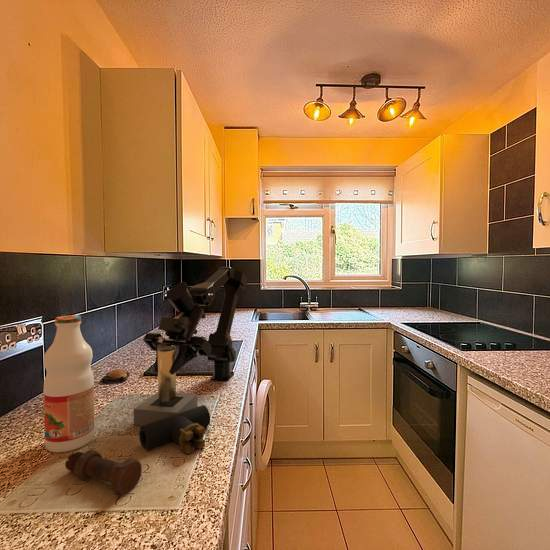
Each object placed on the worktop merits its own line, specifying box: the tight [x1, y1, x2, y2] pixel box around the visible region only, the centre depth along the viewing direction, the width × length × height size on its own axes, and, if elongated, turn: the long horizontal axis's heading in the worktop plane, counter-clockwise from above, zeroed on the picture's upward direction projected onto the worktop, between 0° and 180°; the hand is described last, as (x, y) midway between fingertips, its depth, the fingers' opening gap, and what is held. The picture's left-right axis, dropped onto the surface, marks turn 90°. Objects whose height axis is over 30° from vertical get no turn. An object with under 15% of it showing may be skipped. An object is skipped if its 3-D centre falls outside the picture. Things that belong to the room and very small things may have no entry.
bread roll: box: [100, 368, 130, 386], centre depth 111 cm, size 11×8×4 cm
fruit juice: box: [43, 314, 96, 453], centre depth 71 cm, size 9×9×28 cm
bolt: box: [65, 449, 143, 496], centre depth 59 cm, size 6×5×15 cm
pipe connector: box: [138, 404, 211, 455], centre depth 72 cm, size 12×5×15 cm
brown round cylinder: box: [157, 343, 177, 402], centre depth 83 cm, size 4×4×14 cm
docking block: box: [133, 391, 198, 427], centre depth 83 cm, size 11×11×4 cm
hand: (163, 372), depth 82 cm, fingers closed on brown round cylinder, 4 cm apart
